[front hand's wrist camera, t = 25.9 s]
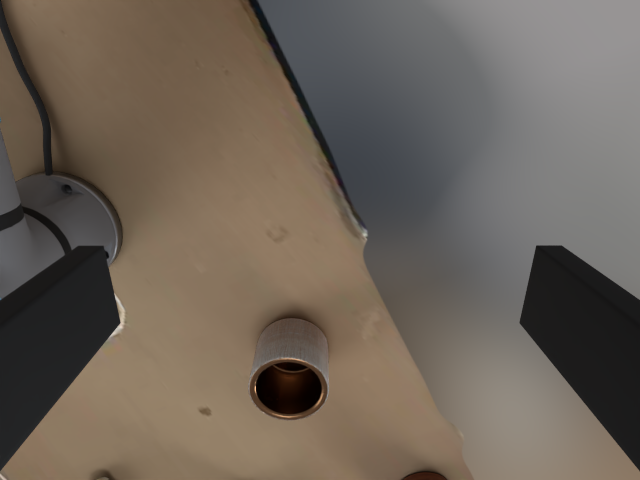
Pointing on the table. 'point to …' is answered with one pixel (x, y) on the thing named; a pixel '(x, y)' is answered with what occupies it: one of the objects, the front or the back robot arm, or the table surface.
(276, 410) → the planter
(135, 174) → the table surface
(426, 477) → the music box
